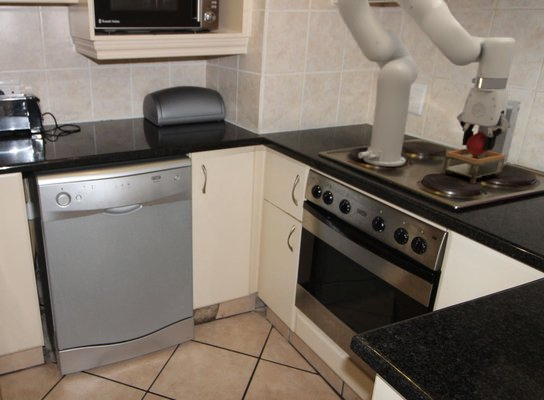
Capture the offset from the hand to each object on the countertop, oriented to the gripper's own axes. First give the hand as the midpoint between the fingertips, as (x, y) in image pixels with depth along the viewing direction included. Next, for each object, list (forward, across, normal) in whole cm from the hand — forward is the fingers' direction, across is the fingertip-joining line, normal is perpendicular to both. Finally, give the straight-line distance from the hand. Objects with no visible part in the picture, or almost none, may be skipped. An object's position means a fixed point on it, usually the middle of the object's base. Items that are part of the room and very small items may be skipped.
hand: (477, 146), depth 139 cm
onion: (+3, 0, 0) cm, 3 cm away
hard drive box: (+9, -3, +12) cm, 15 cm away
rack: (+9, 0, 0) cm, 9 cm away
